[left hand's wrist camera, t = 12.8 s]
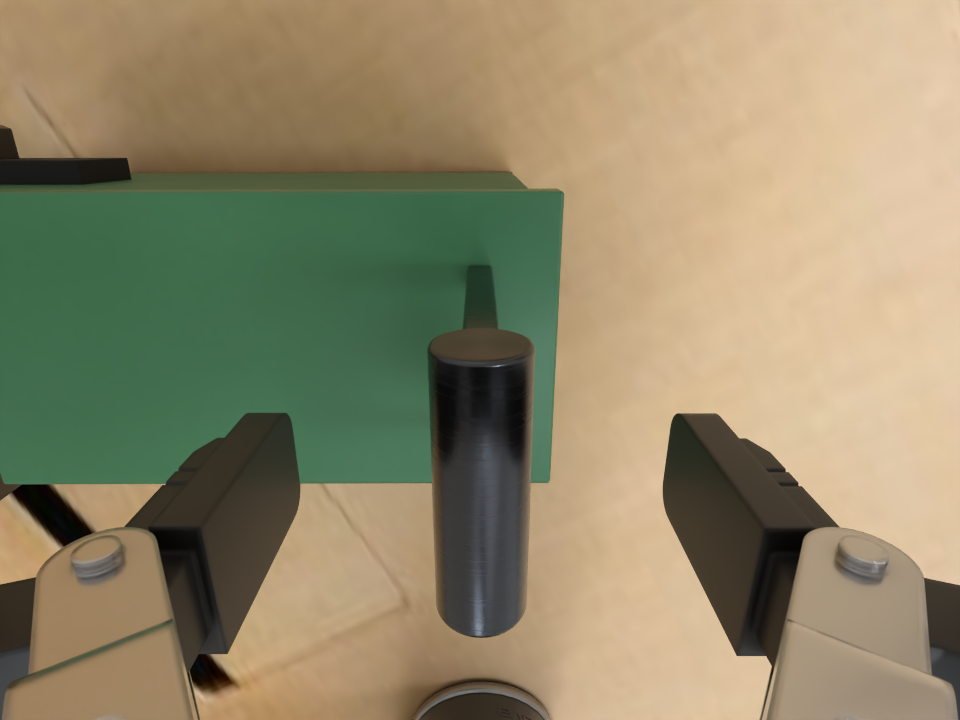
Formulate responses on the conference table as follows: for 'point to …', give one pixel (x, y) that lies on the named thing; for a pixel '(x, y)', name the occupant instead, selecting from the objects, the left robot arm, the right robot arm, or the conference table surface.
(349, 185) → the chest
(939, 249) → the conference table surface
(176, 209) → the lid
